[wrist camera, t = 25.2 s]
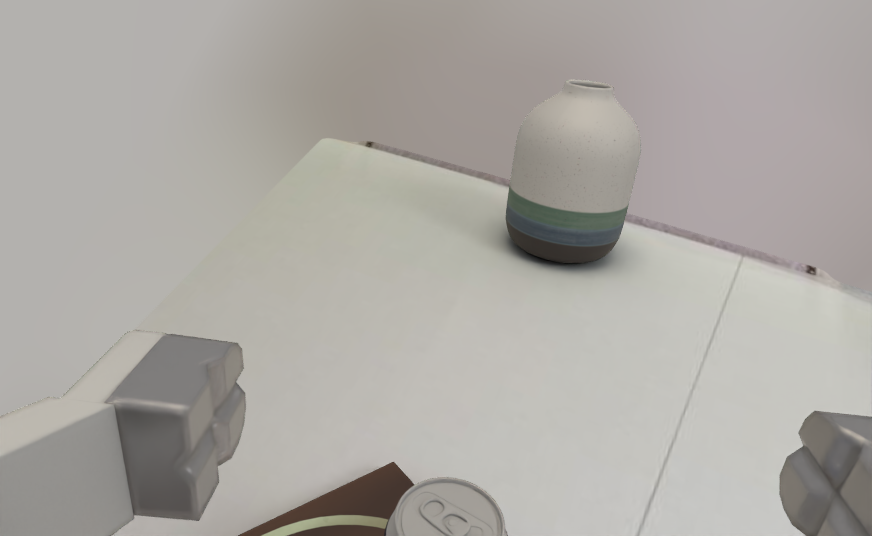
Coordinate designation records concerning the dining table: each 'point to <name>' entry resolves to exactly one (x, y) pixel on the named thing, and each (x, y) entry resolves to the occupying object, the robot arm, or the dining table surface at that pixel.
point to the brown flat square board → (344, 508)
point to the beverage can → (446, 511)
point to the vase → (573, 174)
